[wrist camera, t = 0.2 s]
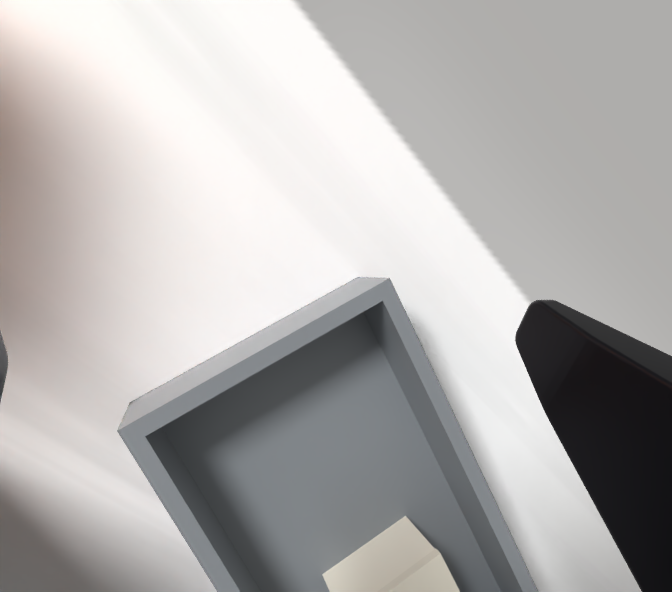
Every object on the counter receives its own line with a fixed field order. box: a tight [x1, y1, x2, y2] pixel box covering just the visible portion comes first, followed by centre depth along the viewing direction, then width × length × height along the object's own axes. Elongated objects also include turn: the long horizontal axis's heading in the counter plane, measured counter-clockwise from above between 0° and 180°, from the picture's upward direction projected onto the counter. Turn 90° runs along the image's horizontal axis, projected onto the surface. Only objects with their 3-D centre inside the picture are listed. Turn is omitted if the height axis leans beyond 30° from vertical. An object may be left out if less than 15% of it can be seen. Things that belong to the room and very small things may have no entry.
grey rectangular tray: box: [117, 277, 538, 592], centre depth 23 cm, size 20×12×4 cm, turn 27°
